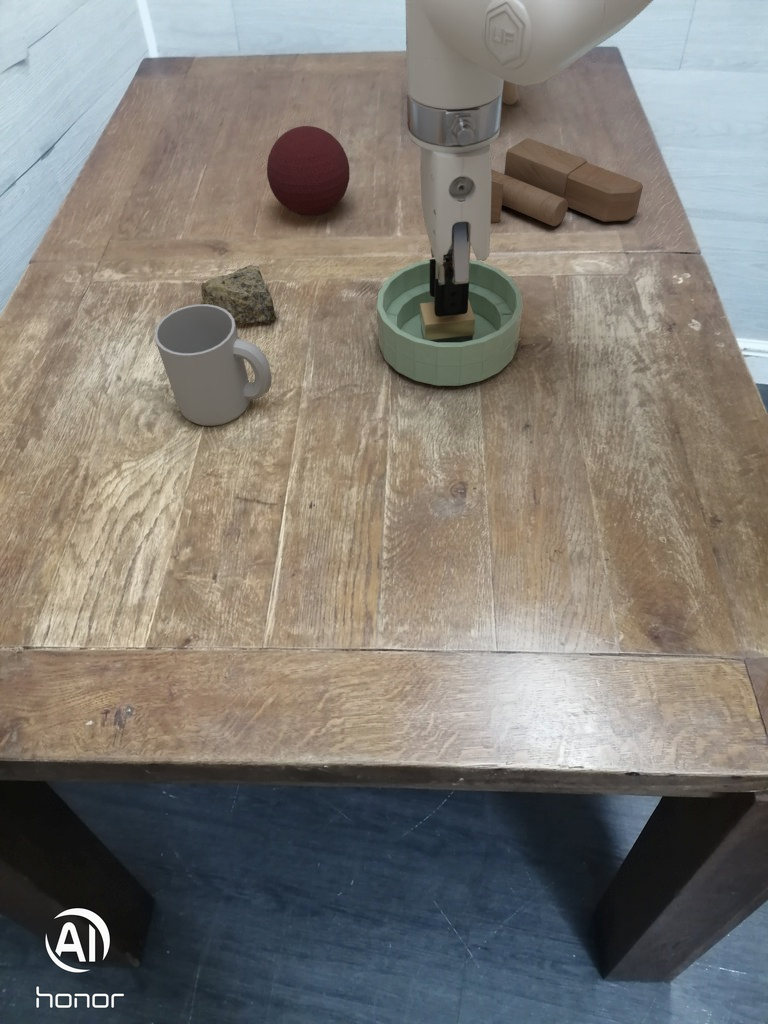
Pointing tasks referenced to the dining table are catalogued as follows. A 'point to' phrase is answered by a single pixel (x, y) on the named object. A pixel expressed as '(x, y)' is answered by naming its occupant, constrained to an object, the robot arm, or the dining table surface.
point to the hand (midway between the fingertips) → (448, 302)
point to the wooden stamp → (446, 323)
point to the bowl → (449, 361)
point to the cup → (210, 364)
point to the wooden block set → (560, 186)
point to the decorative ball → (308, 171)
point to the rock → (241, 295)
